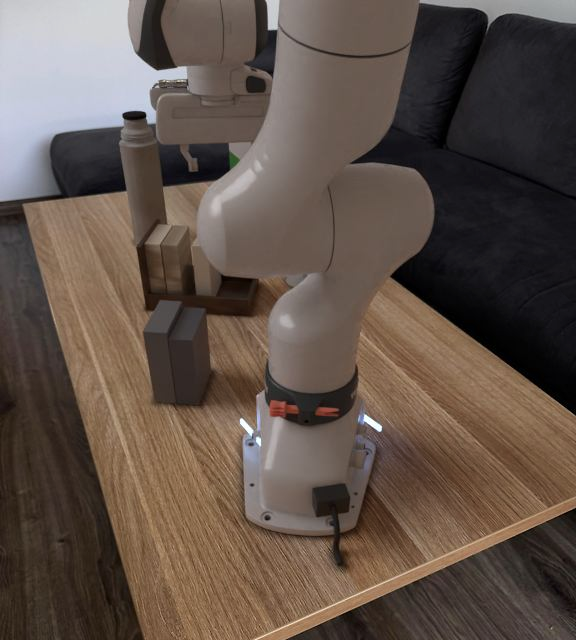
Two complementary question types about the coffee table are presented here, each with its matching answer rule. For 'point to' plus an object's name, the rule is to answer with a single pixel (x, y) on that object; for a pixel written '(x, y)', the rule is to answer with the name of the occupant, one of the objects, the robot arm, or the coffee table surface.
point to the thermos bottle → (142, 173)
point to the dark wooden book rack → (185, 275)
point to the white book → (204, 273)
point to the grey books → (178, 353)
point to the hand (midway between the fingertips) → (221, 169)
